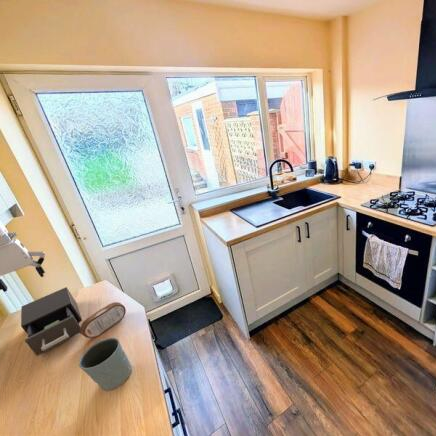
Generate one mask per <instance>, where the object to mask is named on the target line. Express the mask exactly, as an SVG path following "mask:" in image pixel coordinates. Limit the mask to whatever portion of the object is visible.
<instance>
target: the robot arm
mask: <svg viewBox="0 0 436 436" xmlns="http://www.w3.org/2000/svg"><path fill="white" fill-rule="evenodd" d="M17 236H18V234H17V232H16V231H14V232H10V231H8V229H7V228H6V226H5V224H3V222H2V220H1V219H0V277H1V276H4V275H7V274H10V273H13V272H16V271H19V270H21V269H24V268H27V267H29V266H30V267H34V268H35V271H36V272H37V274H38V275H39V276H40V278H43V277H45V274H46V272H45V269H44V268H43V267H42V264H43V262H44V261H45V251H29V250H28V249H27V248H26V246H25V245H24V244H23V243H22V242H21V241H20V240H19V239H18V238H15V237H17ZM34 257H39V258H38V259H37V260H35V259H34ZM0 291H3V293H5V292H7V291H8V286H7V285H6V283H5V282H4V280H3V279H2V278H0Z"/></svg>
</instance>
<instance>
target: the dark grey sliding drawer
mask: <svg viewBox="0 0 436 436" xmlns="http://www.w3.org/2000/svg"><path fill="white" fill-rule="evenodd" d="M57 320H60V322H58V323H56V324H54V325H52V326H50V327H48V328H46V329H44V327H45V326H47V325H49V324H51V323H53V322H55V321H57ZM80 327H81V325H80V324H79V322H77V319H76V316H75V313H74V312H73V310H72V309H71V307H70V306H67V307H65V308H63V309H61V310H59V311H57V312H54V313H52V314H50V315H48V316H46V317H44V318H42V319H40V320H38V321H35V322H33V323H31V324H29V325H28V334H27V337H26V338H24V343H26V345H27V346H28V347H29V348H30V350H31V351H32V352H33V353H34V355H35V356H36V357H38V356H40V355H42V354H43V353H46V352H47V351H49V350H51V349H53V348H54V347H57V346H58V345H60V344H62V343H64V342H66V341H68V340H70V339H71V338H73V337H75V336H77V335H79V334H81V333H80Z"/></svg>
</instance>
